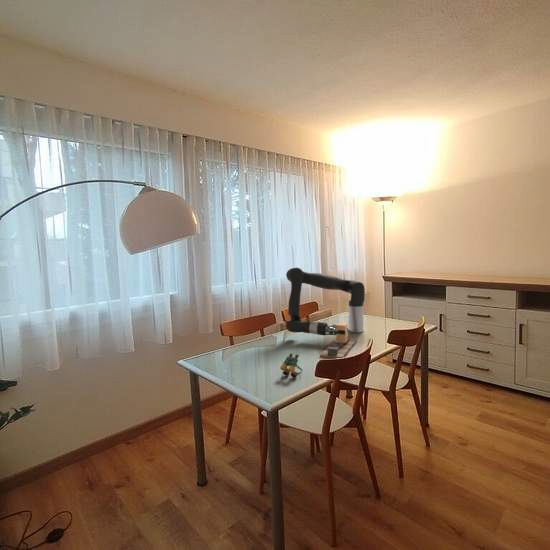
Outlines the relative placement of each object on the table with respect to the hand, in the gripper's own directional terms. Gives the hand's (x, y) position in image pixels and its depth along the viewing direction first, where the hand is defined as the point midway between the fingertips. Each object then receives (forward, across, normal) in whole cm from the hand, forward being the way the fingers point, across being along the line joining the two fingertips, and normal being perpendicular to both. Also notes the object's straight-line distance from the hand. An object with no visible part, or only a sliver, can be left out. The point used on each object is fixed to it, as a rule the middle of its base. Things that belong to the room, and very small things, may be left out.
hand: (346, 331), depth 185 cm
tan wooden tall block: (-3, 0, +6) cm, 7 cm away
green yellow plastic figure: (-12, -49, +9) cm, 51 cm away
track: (-3, -6, +9) cm, 11 cm away
